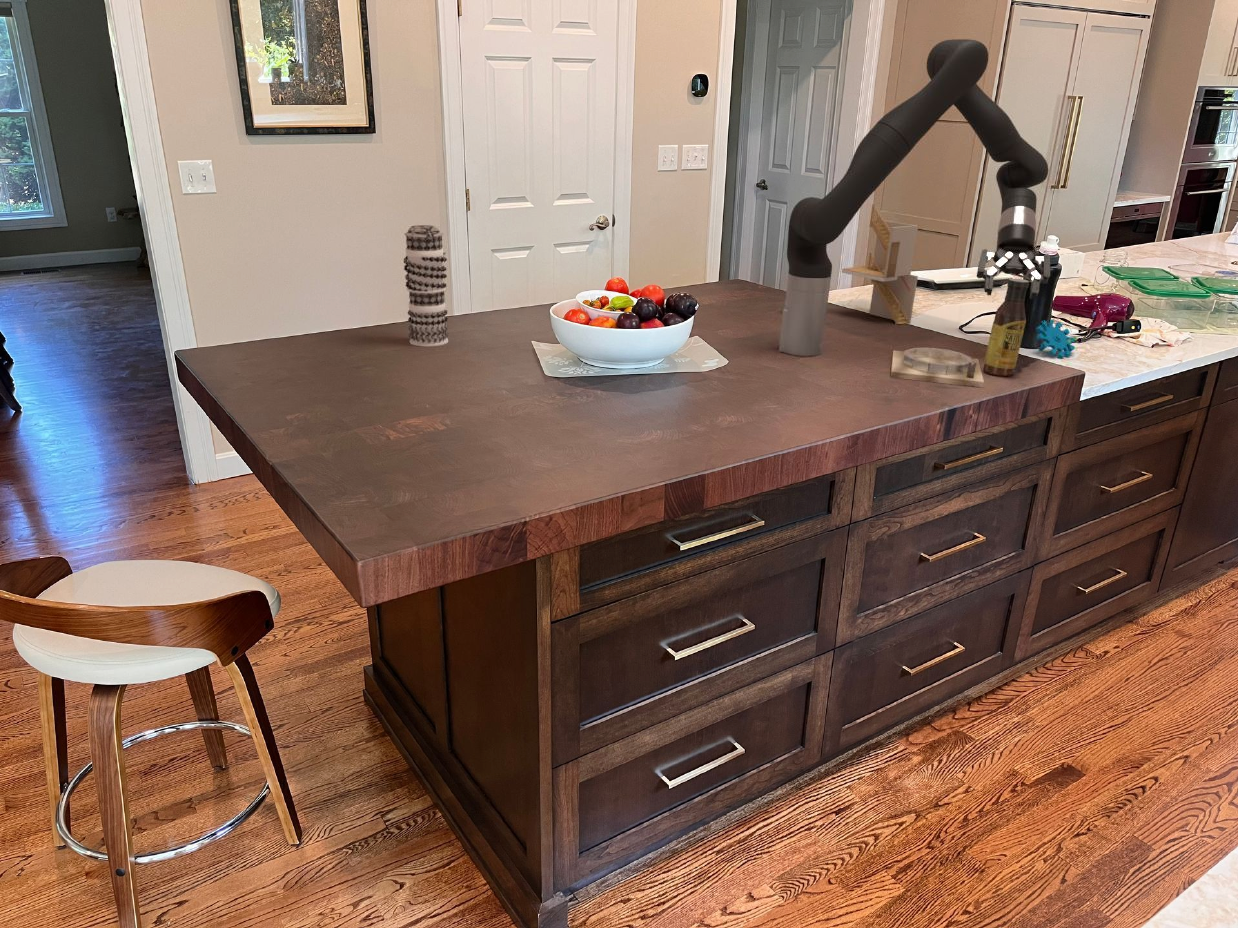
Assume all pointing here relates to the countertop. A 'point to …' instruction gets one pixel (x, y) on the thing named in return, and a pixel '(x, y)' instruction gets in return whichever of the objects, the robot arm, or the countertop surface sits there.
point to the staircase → (891, 269)
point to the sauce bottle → (1007, 330)
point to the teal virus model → (1055, 339)
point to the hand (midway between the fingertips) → (1011, 295)
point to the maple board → (907, 373)
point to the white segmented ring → (936, 368)
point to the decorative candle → (426, 286)
